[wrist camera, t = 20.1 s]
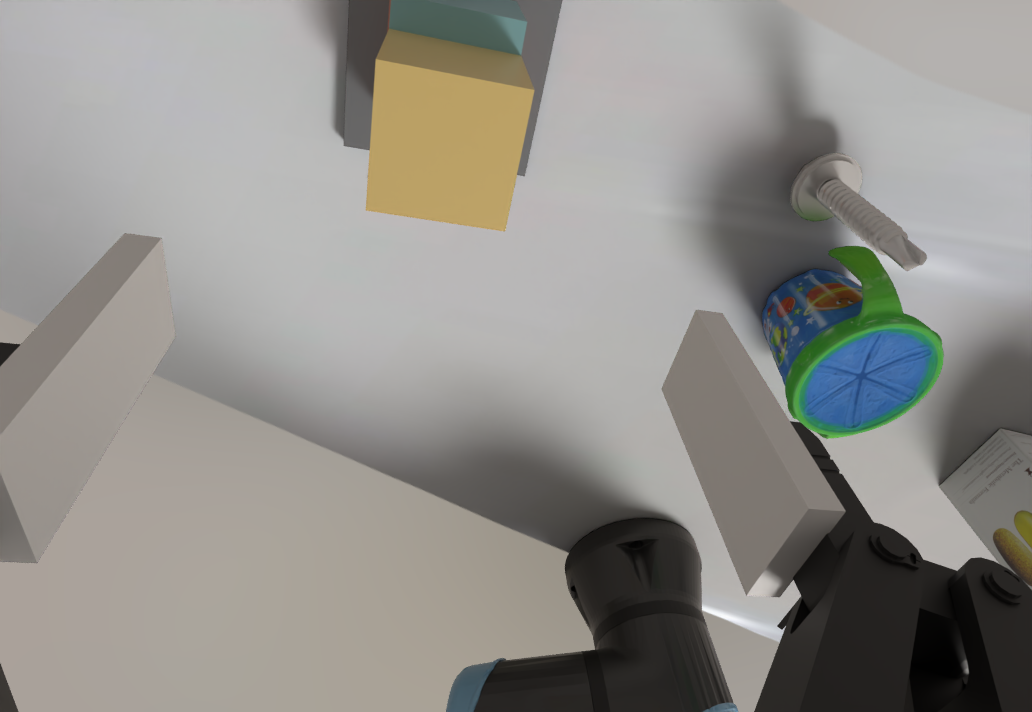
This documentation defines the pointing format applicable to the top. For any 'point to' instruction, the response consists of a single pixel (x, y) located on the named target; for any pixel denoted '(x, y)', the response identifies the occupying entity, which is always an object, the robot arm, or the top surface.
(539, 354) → the top surface
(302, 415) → the top surface
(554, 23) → the base
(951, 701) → the robot arm
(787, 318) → the snack cup
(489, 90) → the ochre brick
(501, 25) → the teal brick
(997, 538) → the supplement box
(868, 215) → the screw
